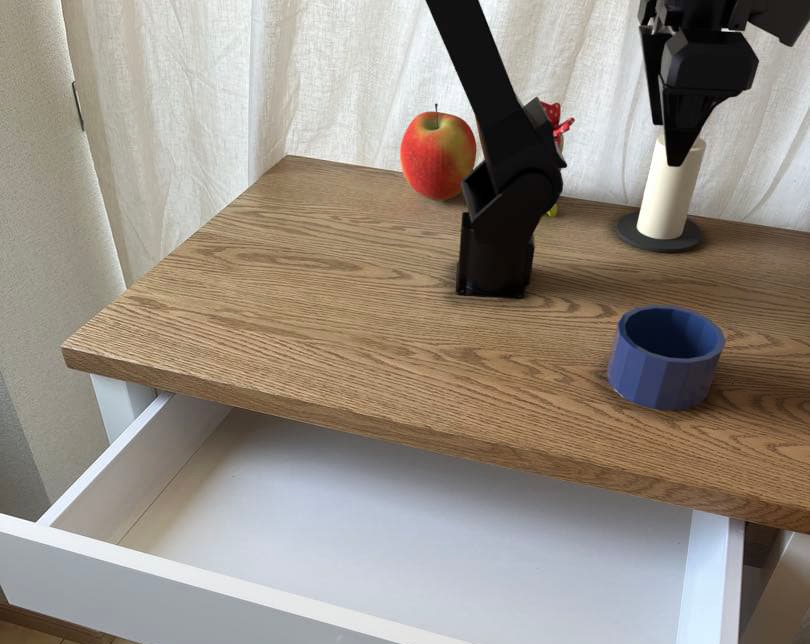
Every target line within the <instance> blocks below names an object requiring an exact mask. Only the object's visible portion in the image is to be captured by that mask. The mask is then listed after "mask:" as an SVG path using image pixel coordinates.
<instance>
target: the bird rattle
mask: <svg viewBox="0 0 810 644" xmlns="http://www.w3.org/2000/svg"><path fill="white" fill-rule="evenodd" d="M540 102H541V104H542V106H543V108H544V110H545V112H546V114H547V116H548V118H549V120H550V122H551V125H552V130H553V135H554V139H555V141H556V143H557V145H558V147H559V149H560V151H561V153H562V154H563V150H564V144H565V137H564V133H567V132H568V131H570V130H571V129H570V128H571V126H572V125H573V124H574V123H575V122H576V119H575V118H574V117H569V118H568V119H566V120H565V121H563V122H562V123H560V121H561V113H562V111H561V110H562V109H561V107H562V106H561V103H560V102H554V103H552V104H549V103H547V102H544V101H542V100H540ZM562 169H563V168H559V170H560V172H561V173H562ZM557 211H558V205H557V203H556V204H555V205H554V206H553V207H552V208H551V210H550V211H548V212H547V213H546V214H547V215H548V216H549V217H551V218H554V217H555V216H556V215H557Z"/></svg>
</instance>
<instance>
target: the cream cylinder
mask: <svg viewBox="0 0 810 644" xmlns="http://www.w3.org/2000/svg"><path fill="white" fill-rule="evenodd" d="M702 132H703V129H702V130H701V131H700V133H699V135H698V137H697V138H696V140H695V142H694V144H693V146H692V147H691V149H690V151H689V153H688V155H687V156H686V158H685V160H684V162H683V164H682V165H681V166H680V167H670V166H668V164H667V158H666V149H665V139H664V133H662V134H660V135H658V136H657V138H656V141H655V146H654V149H653V154H652V157H651V161H650V166H649V167H650V168H649V171H648V176H647V180H646V183H645V188H644V192H643V196H642V202H641V205H640V209H639V211H640V214H639V218H638V222H637V229H638V231H639V232H641V233H642V234H644V235H646V236H648V237H651V238H655V239H665V240H666V239H674V238H677V237H679V236H680V235H681V234H682V232H683V229H684V225H685V221H686V219H688V218H687V217H688V214H689V210H690V207H691V203H692V200H693V196H694V192H695V189H696V185H697V181H698V177H699V175H700V171H701V167H702V163H703V159H704V156H705V152H706V149H707V142H706V141H705V140H704V139H703V138H701V136H702Z"/></svg>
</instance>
